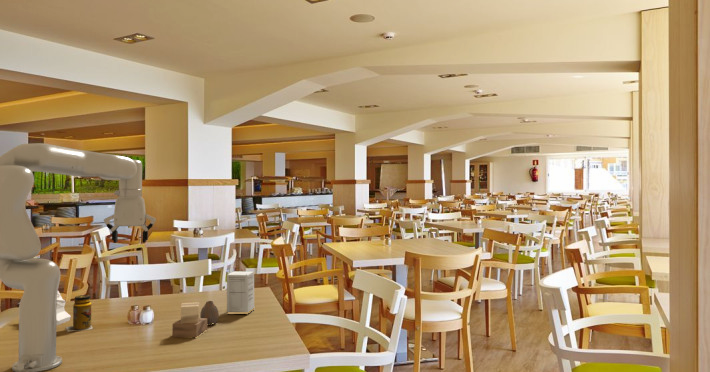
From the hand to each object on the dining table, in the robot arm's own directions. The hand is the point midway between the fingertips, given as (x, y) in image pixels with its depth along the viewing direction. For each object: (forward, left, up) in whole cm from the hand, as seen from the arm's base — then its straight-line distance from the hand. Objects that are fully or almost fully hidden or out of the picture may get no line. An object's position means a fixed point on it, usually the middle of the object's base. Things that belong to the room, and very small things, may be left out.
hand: (130, 242), depth 186 cm
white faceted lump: (+26, +34, -34) cm, 54 cm away
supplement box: (+28, -39, -34) cm, 59 cm away
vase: (+11, -27, -34) cm, 44 cm away
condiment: (+14, +20, -34) cm, 42 cm away
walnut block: (-2, -21, -34) cm, 40 cm away
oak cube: (-2, -21, -29) cm, 35 cm away
